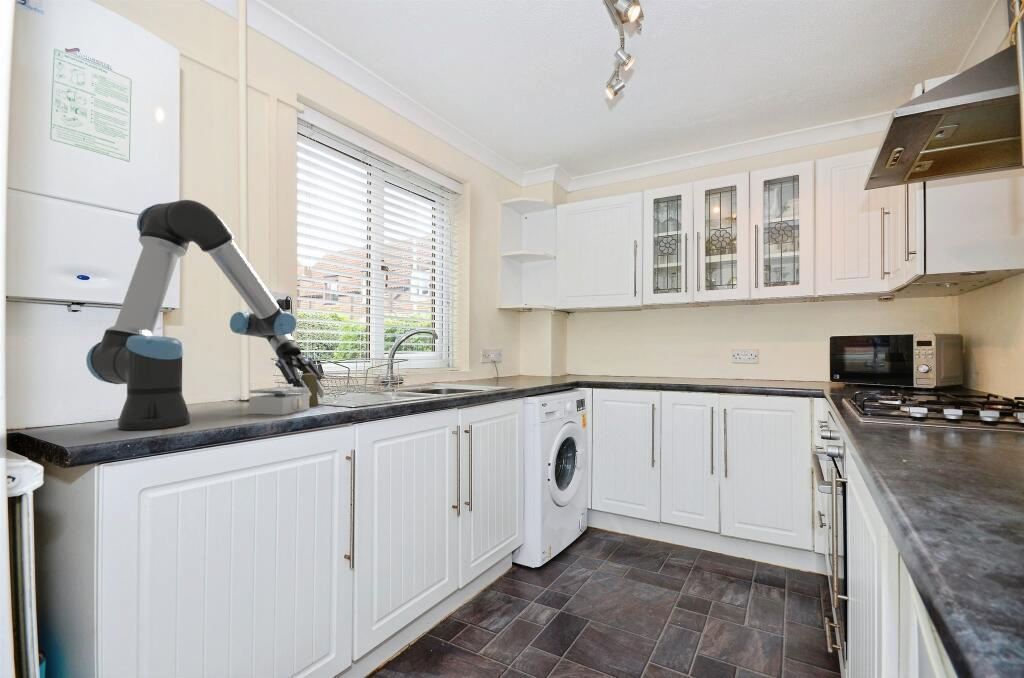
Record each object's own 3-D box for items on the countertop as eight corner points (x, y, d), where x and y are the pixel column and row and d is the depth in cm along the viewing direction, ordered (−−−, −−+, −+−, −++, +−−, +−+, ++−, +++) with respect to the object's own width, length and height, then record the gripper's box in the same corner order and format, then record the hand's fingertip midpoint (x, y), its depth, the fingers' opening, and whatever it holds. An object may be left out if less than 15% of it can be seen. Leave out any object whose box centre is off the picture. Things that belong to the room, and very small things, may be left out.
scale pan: (282, 393, 145) (282, 391, 145) (249, 393, 148) (249, 390, 148) (309, 390, 157) (309, 387, 157) (277, 389, 160) (277, 386, 160)
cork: (321, 404, 170) (321, 372, 170) (313, 406, 164) (313, 373, 164) (305, 404, 171) (305, 372, 171) (296, 406, 164) (296, 373, 165)
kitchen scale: (284, 414, 145) (284, 394, 145) (249, 413, 148) (249, 393, 148) (311, 409, 157) (311, 390, 157) (277, 408, 160) (277, 390, 160)
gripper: (303, 354, 183) (333, 400, 175) (257, 355, 167) (287, 406, 159) (312, 340, 180) (343, 386, 172) (266, 340, 165) (297, 391, 156)
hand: (316, 396), depth 165 cm, fingers closed on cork, 5 cm apart
